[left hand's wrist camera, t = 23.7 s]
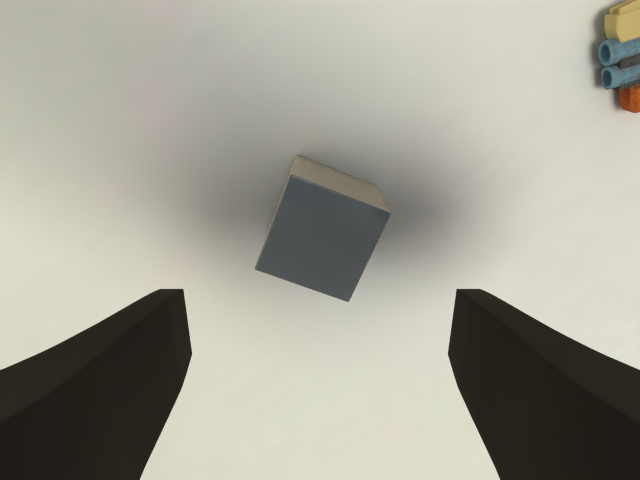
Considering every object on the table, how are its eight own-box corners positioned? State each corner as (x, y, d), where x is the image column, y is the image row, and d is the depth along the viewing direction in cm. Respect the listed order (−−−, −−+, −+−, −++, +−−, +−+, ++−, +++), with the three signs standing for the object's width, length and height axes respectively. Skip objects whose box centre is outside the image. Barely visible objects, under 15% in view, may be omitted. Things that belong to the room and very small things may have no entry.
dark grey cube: (266, 233, 20) (254, 269, 16) (296, 154, 19) (289, 173, 15) (343, 261, 21) (348, 302, 17) (377, 186, 19) (391, 213, 15)
